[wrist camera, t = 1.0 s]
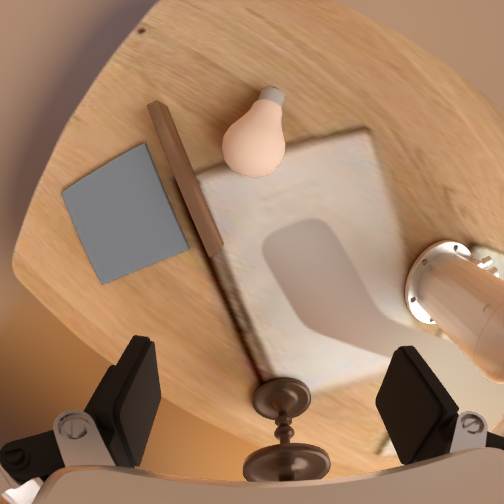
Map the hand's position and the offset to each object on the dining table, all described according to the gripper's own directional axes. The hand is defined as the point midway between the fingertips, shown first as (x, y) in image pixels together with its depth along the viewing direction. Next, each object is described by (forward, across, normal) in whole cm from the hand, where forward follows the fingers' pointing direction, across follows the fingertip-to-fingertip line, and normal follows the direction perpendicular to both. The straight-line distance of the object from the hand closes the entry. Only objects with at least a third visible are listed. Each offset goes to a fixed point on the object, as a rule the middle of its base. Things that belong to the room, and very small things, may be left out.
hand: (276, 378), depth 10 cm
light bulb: (+26, 0, -11) cm, 29 cm away
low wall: (+26, +8, -6) cm, 28 cm away
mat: (+26, +17, 0) cm, 32 cm away
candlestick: (+26, -6, +26) cm, 37 cm away
